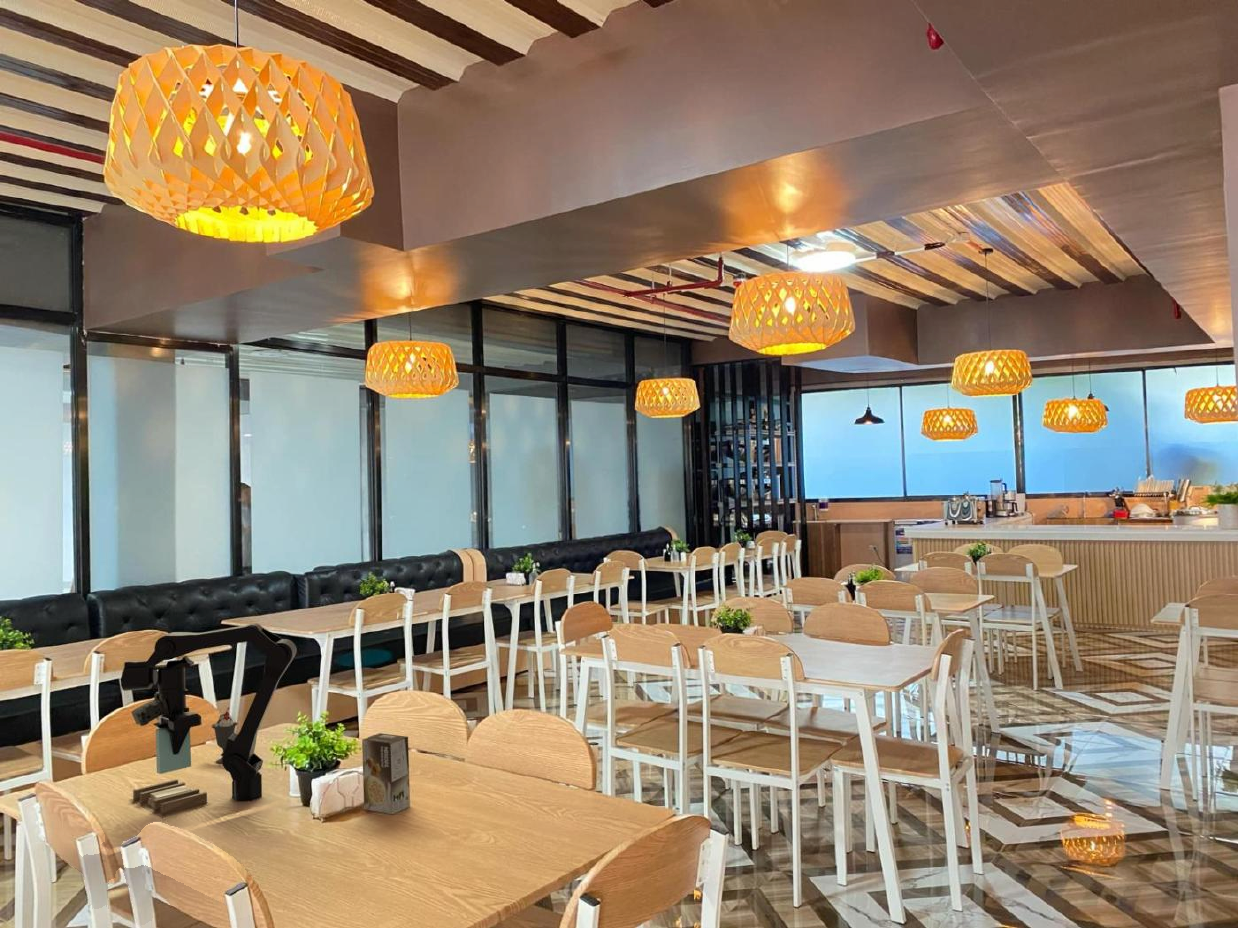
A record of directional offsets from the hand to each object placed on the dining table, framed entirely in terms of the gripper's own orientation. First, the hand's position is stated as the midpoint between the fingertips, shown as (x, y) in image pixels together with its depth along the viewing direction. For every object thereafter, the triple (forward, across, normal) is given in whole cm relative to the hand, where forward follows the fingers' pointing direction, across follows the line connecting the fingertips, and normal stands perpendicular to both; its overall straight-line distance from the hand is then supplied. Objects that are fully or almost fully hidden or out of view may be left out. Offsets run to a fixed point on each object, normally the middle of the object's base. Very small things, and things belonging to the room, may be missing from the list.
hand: (173, 753), depth 211 cm
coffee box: (+14, +40, +32) cm, 53 cm away
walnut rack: (+13, -2, 0) cm, 13 cm away
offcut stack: (+12, -2, 0) cm, 12 cm away
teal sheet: (+4, 0, 0) cm, 4 cm away
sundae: (+13, -30, +24) cm, 40 cm away
